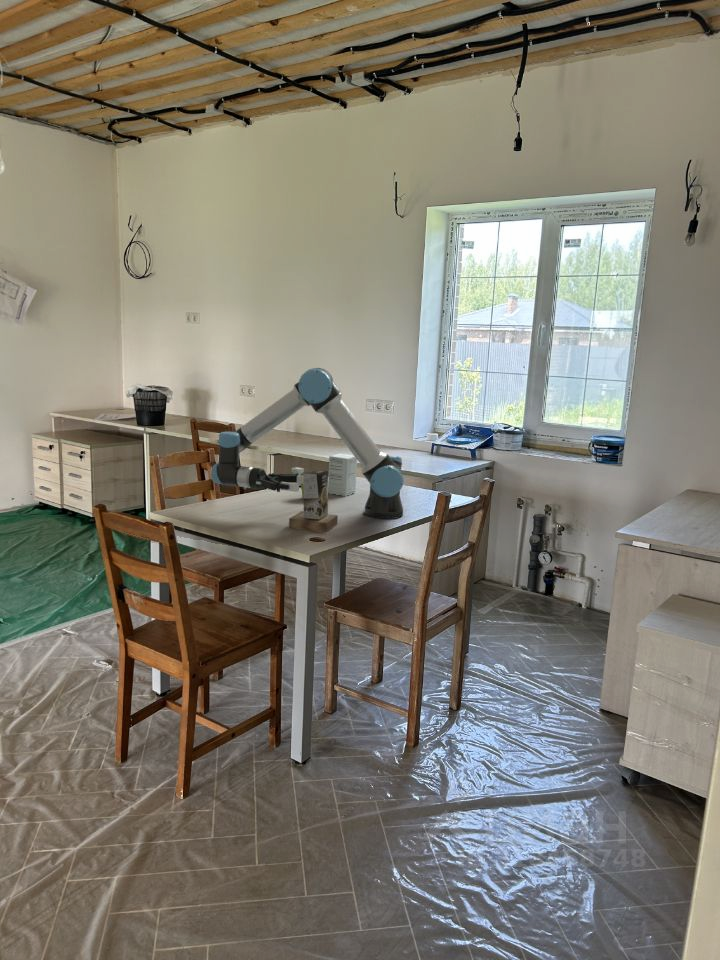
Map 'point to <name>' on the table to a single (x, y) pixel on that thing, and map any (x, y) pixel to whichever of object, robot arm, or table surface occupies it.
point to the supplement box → (342, 474)
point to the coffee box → (315, 494)
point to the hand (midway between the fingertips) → (306, 484)
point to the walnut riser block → (313, 522)
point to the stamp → (297, 470)
